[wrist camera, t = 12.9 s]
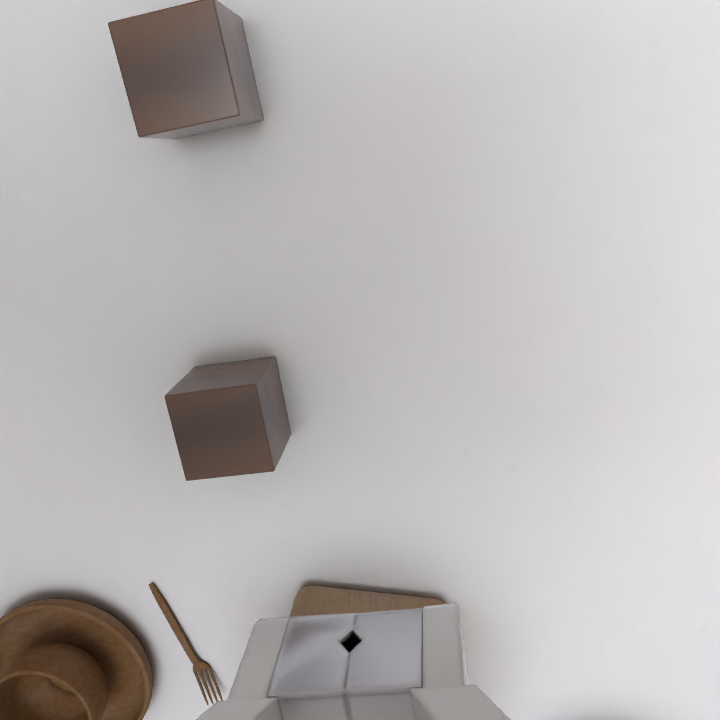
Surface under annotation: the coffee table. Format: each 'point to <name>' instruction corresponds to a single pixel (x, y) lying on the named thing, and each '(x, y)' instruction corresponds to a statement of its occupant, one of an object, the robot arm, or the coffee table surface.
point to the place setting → (78, 663)
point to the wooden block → (353, 601)
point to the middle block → (186, 70)
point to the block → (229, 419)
